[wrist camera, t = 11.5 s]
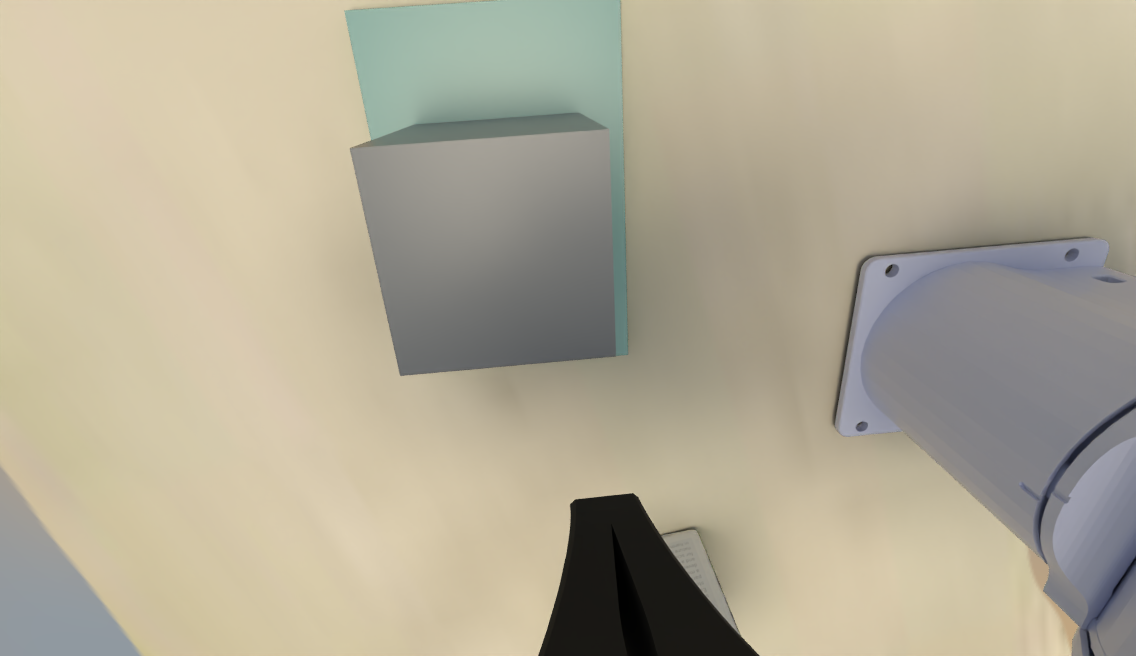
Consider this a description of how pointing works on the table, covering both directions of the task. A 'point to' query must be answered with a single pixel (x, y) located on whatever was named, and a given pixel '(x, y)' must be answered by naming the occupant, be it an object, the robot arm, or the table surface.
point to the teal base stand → (499, 76)
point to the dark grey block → (492, 240)
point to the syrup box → (699, 568)
